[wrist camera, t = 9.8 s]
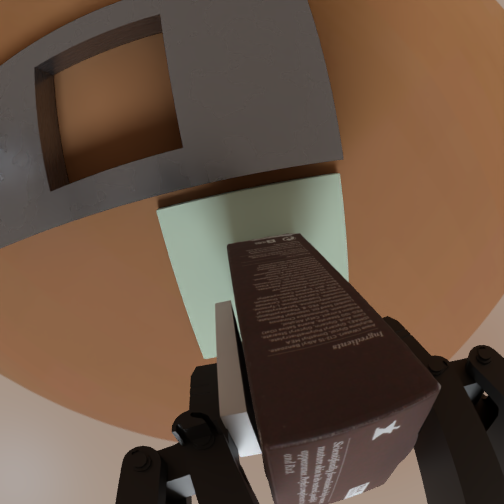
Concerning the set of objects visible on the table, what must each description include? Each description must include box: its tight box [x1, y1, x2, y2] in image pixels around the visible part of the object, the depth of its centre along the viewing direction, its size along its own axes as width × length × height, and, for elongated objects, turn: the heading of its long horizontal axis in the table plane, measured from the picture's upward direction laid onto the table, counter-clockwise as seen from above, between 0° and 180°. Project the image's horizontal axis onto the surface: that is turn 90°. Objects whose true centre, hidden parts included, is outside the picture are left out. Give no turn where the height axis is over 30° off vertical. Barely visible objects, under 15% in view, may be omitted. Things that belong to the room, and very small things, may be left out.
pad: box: [157, 173, 349, 359], centre depth 18 cm, size 11×11×1 cm
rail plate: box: [0, 0, 343, 248], centre depth 12 cm, size 24×12×2 cm, turn 101°
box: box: [227, 233, 441, 504], centre depth 11 cm, size 6×4×12 cm
